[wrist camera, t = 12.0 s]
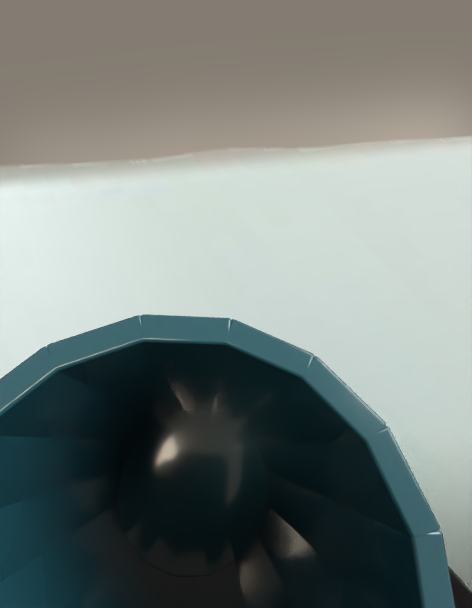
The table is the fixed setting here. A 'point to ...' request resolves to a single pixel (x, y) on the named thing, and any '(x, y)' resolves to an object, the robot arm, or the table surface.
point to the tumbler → (204, 478)
